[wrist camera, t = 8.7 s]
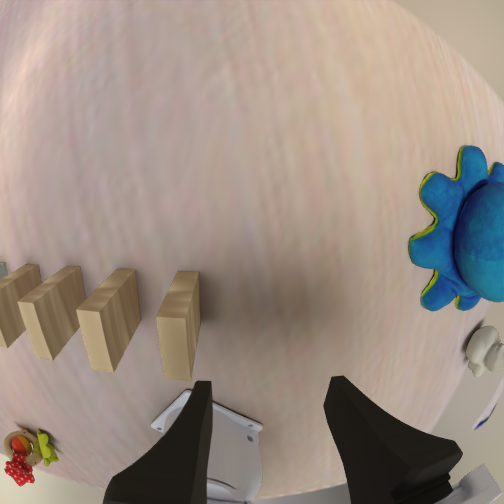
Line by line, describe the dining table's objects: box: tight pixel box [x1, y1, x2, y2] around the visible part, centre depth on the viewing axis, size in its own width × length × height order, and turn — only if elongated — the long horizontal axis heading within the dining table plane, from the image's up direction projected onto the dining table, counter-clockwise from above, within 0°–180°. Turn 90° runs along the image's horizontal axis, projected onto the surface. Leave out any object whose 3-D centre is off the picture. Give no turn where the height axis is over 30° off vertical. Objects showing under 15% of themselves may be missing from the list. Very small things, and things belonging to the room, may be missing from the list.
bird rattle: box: [4, 429, 59, 486], centre depth 22 cm, size 6×11×9 cm
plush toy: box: [409, 145, 504, 311], centre depth 18 cm, size 17×17×8 cm
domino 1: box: [0, 264, 42, 348], centre depth 17 cm, size 2×4×7 cm, turn 177°
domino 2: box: [18, 267, 86, 361], centre depth 17 cm, size 2×4×7 cm, turn 0°
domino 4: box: [156, 271, 201, 381], centre depth 18 cm, size 2×4×7 cm, turn 178°
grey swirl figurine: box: [466, 326, 504, 377], centre depth 22 cm, size 5×7×8 cm
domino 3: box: [76, 269, 141, 373], centre depth 18 cm, size 2×4×7 cm, turn 177°
